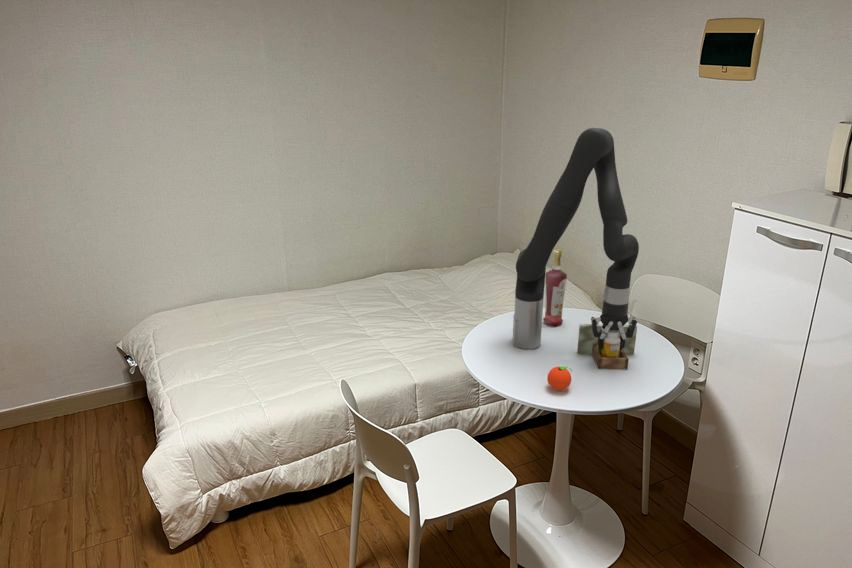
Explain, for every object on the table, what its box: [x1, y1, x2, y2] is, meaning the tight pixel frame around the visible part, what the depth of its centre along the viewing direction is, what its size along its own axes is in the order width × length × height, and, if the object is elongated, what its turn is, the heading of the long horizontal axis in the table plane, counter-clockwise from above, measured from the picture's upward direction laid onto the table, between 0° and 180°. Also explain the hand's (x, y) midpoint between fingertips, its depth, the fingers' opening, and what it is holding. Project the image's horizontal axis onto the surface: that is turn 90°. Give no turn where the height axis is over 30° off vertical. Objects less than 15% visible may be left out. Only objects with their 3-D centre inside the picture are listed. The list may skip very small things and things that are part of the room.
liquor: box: [543, 248, 568, 327], centre depth 220 cm, size 7×7×28 cm
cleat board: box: [576, 323, 638, 370], centre depth 196 cm, size 18×12×10 cm, turn 87°
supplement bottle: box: [601, 330, 621, 358], centre depth 194 cm, size 5×5×10 cm
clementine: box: [547, 366, 573, 391], centre depth 181 cm, size 8×7×7 cm
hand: (610, 348), depth 195 cm, fingers closed on supplement bottle, 5 cm apart
